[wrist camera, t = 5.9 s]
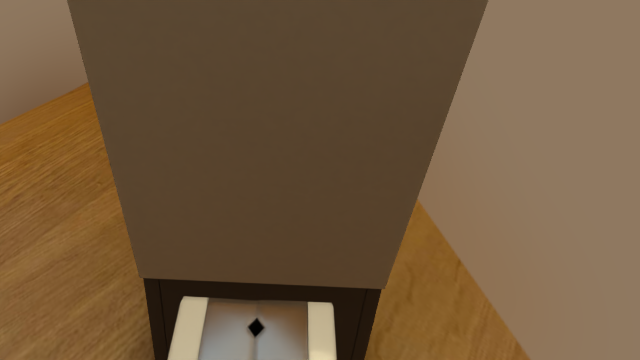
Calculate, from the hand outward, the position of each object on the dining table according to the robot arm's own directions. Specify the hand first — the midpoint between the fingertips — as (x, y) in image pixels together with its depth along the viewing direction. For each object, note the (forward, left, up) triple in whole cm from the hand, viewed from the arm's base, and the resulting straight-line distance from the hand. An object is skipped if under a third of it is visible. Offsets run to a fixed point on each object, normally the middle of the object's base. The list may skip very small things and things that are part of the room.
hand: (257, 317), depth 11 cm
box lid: (0, -11, -4) cm, 12 cm away
